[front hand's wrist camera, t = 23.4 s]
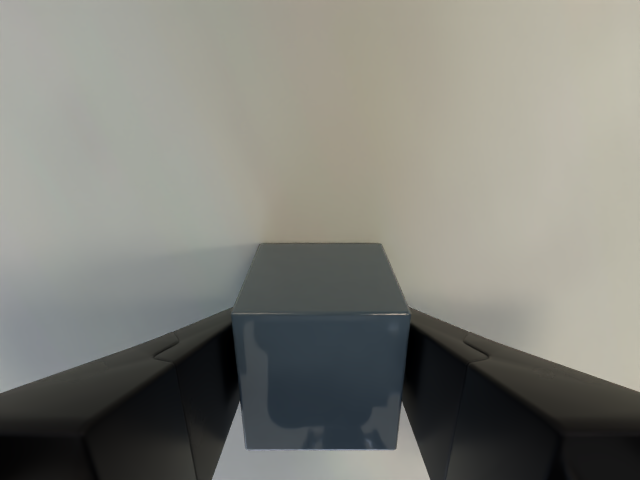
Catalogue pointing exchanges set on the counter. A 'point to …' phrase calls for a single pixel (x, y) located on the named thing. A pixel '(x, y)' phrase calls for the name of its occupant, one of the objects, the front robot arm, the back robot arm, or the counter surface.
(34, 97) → the counter surface
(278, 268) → the block
